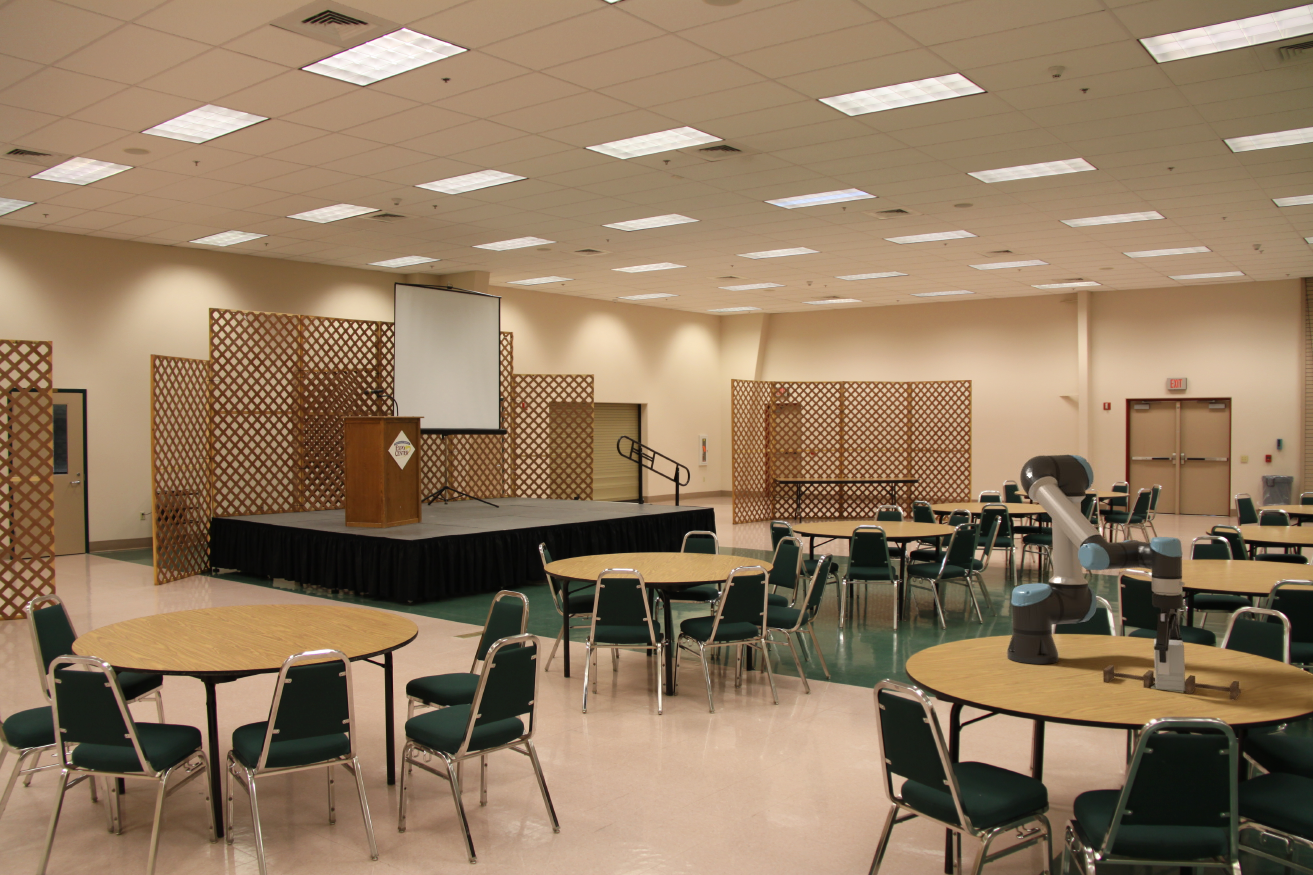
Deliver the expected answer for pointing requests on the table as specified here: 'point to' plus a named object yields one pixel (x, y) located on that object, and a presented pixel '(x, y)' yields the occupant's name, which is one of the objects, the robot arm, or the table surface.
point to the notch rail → (1189, 682)
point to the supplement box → (1172, 667)
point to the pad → (1167, 689)
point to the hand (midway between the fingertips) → (1169, 669)
